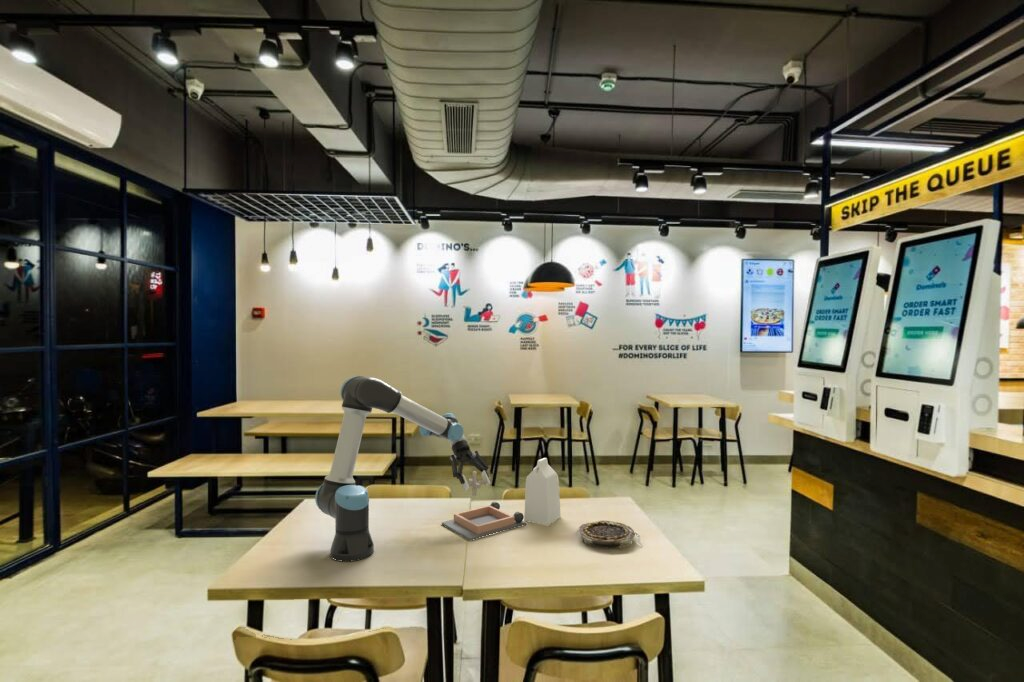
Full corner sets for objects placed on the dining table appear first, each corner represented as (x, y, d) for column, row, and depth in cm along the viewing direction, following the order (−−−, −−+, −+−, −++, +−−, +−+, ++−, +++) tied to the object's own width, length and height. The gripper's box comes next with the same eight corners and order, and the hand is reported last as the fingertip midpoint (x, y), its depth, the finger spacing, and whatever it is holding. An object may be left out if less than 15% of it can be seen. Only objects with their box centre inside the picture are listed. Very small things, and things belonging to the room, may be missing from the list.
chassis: (469, 541, 195) (469, 528, 195) (441, 524, 213) (441, 512, 213) (526, 524, 212) (526, 512, 212) (495, 510, 230) (495, 499, 230)
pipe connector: (459, 493, 219) (459, 470, 219) (480, 490, 224) (480, 467, 224) (467, 500, 210) (467, 476, 210) (489, 496, 215) (489, 473, 215)
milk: (548, 526, 211) (547, 463, 211) (524, 520, 217) (524, 460, 217) (560, 517, 221) (560, 458, 221) (537, 512, 227) (537, 455, 227)
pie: (643, 558, 180) (643, 544, 180) (566, 553, 186) (566, 539, 186) (640, 529, 207) (640, 517, 207) (573, 525, 213) (573, 513, 213)
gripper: (476, 445, 236) (496, 487, 224) (433, 452, 222) (452, 497, 210) (482, 436, 232) (503, 478, 220) (439, 442, 218) (459, 487, 206)
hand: (478, 487), depth 215 cm, fingers closed on pipe connector, 10 cm apart
